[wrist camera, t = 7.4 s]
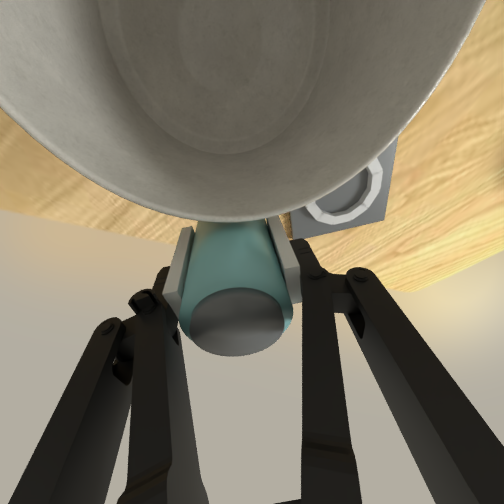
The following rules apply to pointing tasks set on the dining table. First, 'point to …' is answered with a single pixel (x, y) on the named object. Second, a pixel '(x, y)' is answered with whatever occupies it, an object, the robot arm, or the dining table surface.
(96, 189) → the dining table surface
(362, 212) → the holder
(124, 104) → the planter
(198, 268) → the teal and grey peg
